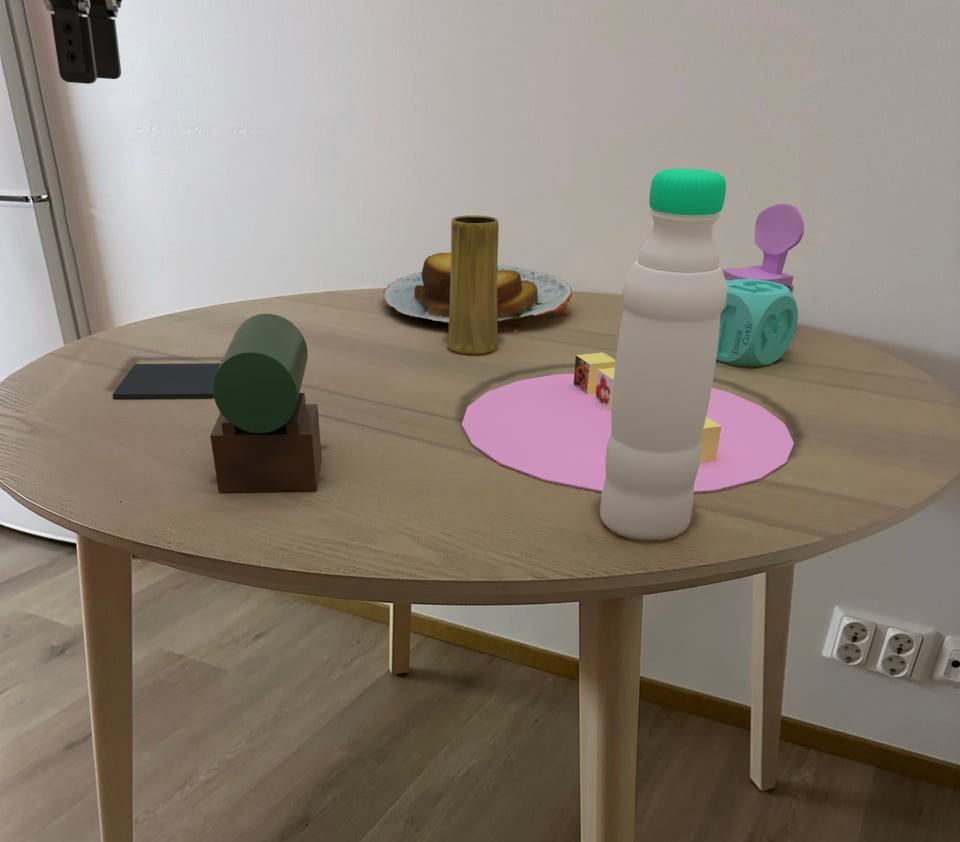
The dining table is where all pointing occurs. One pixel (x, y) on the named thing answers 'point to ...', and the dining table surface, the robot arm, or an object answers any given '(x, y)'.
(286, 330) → the green can
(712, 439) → the platter
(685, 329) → the water bottle
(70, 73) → the robot arm
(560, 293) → the food on plate
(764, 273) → the toy chair
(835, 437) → the dining table surface
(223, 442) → the cradle
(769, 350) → the decorative dice
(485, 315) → the vase
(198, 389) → the coaster
